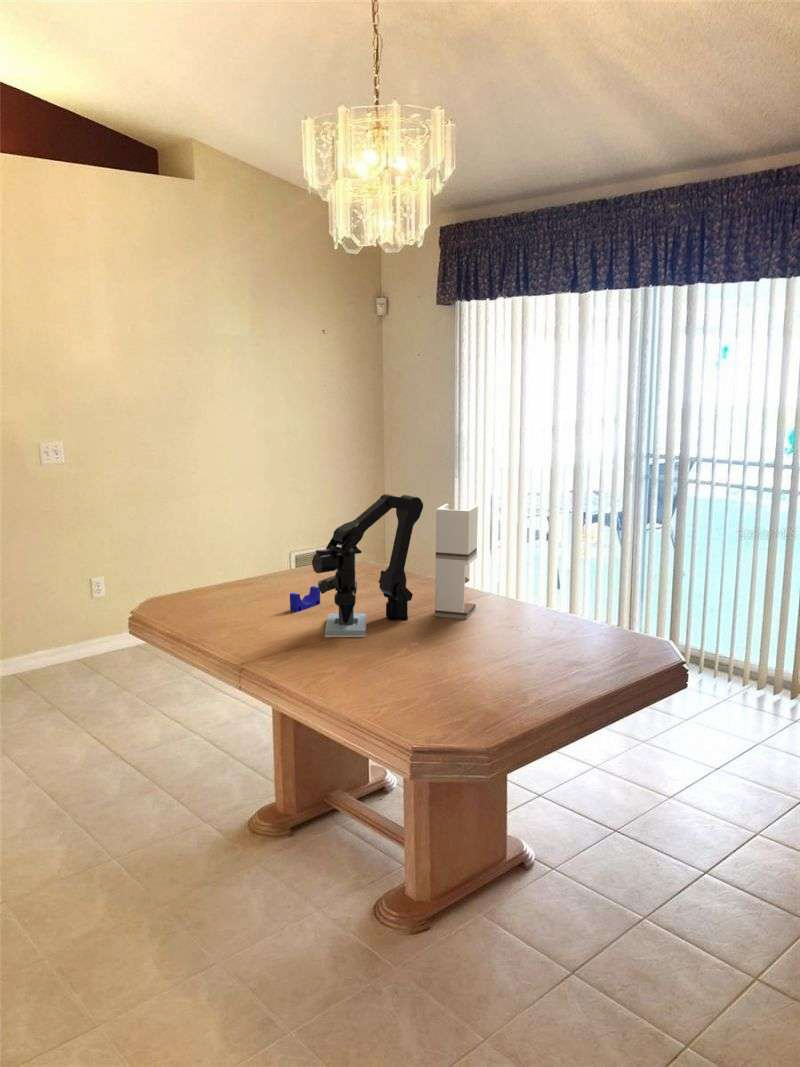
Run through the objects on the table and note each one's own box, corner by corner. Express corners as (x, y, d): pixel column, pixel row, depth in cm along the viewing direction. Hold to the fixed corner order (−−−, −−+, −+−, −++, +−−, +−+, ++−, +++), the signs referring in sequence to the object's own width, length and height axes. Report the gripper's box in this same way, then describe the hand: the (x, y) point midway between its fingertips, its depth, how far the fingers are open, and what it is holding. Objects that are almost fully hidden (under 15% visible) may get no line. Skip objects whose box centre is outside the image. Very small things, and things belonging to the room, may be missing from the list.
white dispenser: (466, 619, 277) (469, 511, 271) (434, 616, 281) (436, 509, 274) (475, 610, 288) (477, 505, 281) (444, 607, 291) (446, 503, 285)
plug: (353, 624, 270) (353, 603, 269) (353, 628, 266) (353, 607, 264) (339, 624, 270) (339, 603, 269) (338, 628, 266) (338, 607, 264)
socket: (366, 619, 277) (366, 613, 276) (365, 636, 259) (365, 630, 259) (328, 619, 277) (328, 613, 276) (325, 636, 259) (324, 630, 258)
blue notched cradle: (309, 602, 297) (309, 585, 296) (320, 604, 294) (320, 587, 293) (286, 610, 287) (286, 593, 286) (297, 612, 285) (296, 595, 283)
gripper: (321, 561, 273) (321, 609, 276) (317, 576, 255) (317, 627, 258) (356, 561, 274) (357, 609, 277) (355, 576, 255) (355, 627, 258)
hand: (346, 618), depth 267 cm, fingers open, 9 cm apart
